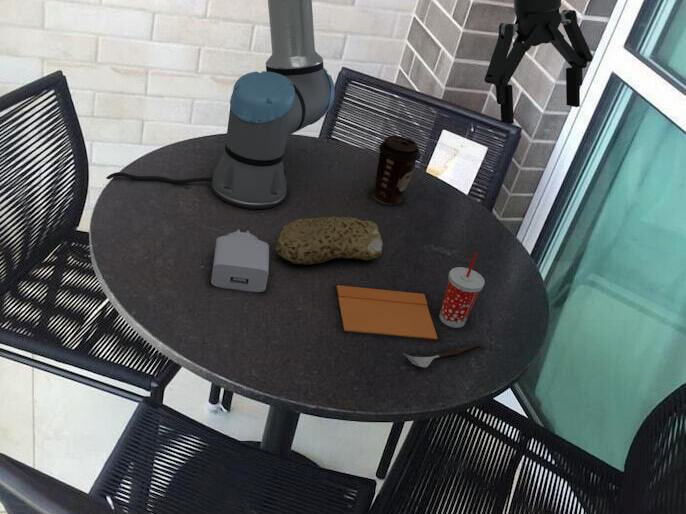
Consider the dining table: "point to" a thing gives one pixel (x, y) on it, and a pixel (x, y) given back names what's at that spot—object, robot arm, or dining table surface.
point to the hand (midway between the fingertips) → (540, 114)
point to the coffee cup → (394, 169)
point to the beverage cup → (460, 295)
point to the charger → (241, 262)
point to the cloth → (385, 312)
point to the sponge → (329, 240)
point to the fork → (438, 356)
